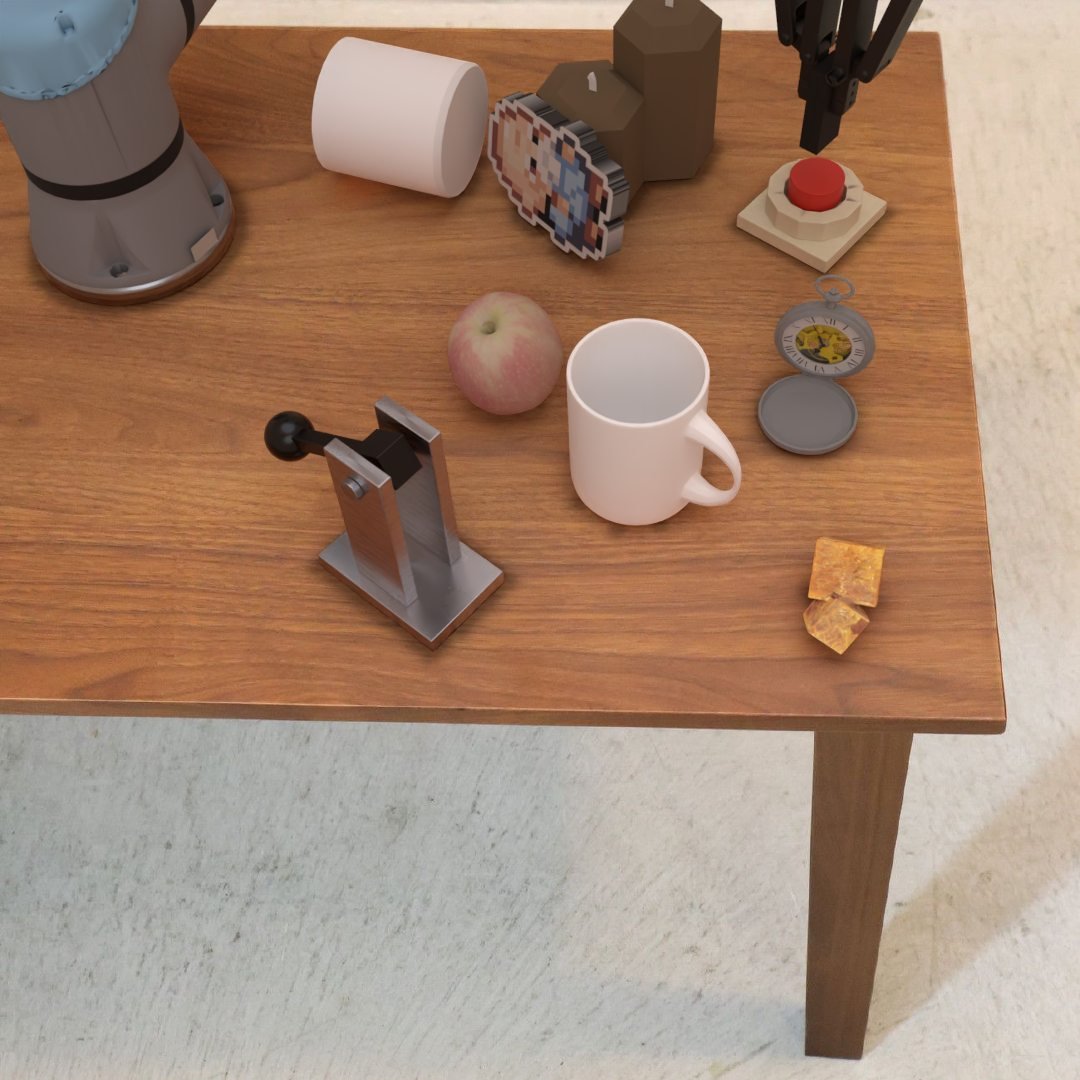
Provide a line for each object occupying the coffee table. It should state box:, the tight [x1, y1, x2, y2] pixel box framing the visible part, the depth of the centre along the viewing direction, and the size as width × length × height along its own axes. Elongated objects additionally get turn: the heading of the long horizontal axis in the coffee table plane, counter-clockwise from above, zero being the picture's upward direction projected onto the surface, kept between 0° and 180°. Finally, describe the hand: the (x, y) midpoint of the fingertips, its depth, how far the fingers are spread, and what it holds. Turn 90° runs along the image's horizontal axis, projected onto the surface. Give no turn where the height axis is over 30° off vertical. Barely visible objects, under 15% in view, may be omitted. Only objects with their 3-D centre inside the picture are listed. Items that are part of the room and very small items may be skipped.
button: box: [788, 156, 845, 212], centre depth 102 cm, size 4×4×2 cm
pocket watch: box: [757, 274, 877, 456], centre depth 91 cm, size 8×8×10 cm
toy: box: [487, 90, 629, 262], centre depth 102 cm, size 14×2×10 cm, turn 39°
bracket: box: [317, 394, 505, 652], centre depth 83 cm, size 10×7×14 cm, turn 49°
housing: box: [735, 157, 888, 274], centre depth 104 cm, size 8×8×3 cm
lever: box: [263, 410, 423, 490], centre depth 83 cm, size 14×3×3 cm, turn 49°
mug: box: [565, 317, 743, 526], centre depth 87 cm, size 9×12×11 cm
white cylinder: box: [311, 36, 490, 199], centre depth 107 cm, size 13×10×10 cm
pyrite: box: [802, 535, 888, 655], centre depth 84 cm, size 5×7×4 cm
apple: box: [446, 291, 565, 416], centre depth 94 cm, size 8×8×8 cm
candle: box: [535, 0, 723, 207], centre depth 104 cm, size 14×14×15 cm
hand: (818, 140), depth 99 cm, fingers closed
